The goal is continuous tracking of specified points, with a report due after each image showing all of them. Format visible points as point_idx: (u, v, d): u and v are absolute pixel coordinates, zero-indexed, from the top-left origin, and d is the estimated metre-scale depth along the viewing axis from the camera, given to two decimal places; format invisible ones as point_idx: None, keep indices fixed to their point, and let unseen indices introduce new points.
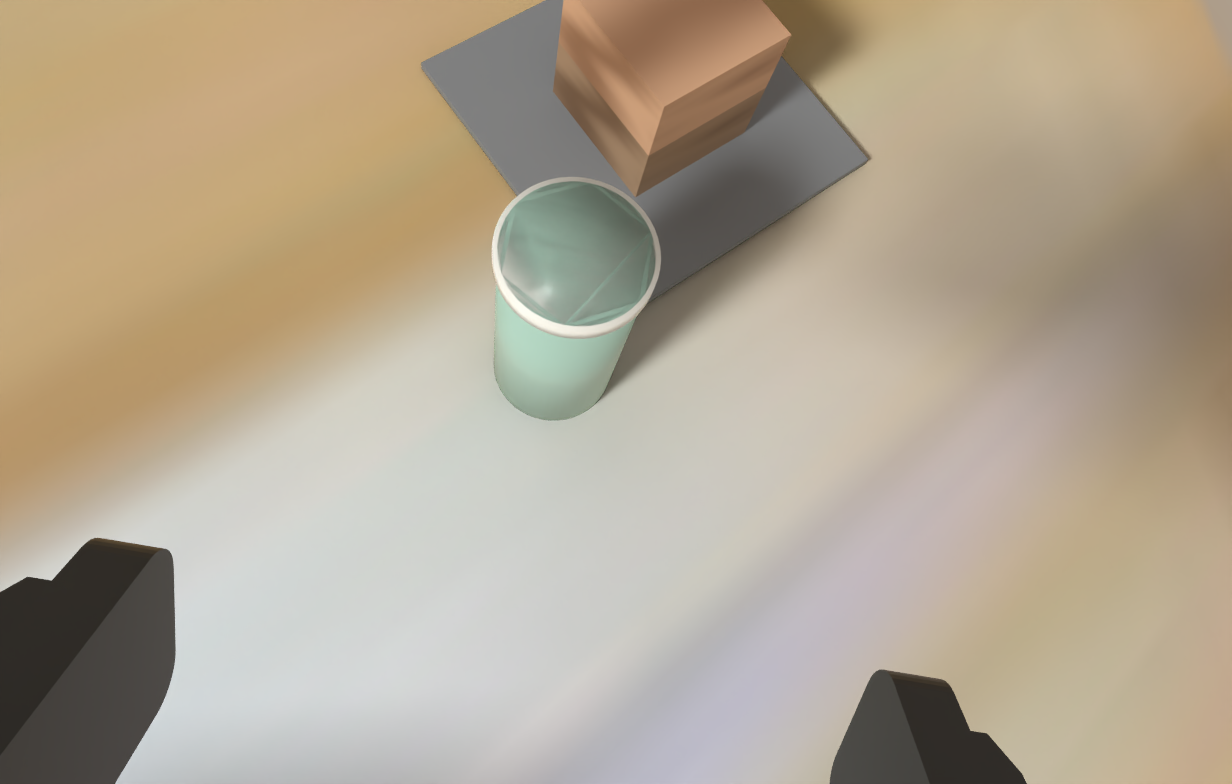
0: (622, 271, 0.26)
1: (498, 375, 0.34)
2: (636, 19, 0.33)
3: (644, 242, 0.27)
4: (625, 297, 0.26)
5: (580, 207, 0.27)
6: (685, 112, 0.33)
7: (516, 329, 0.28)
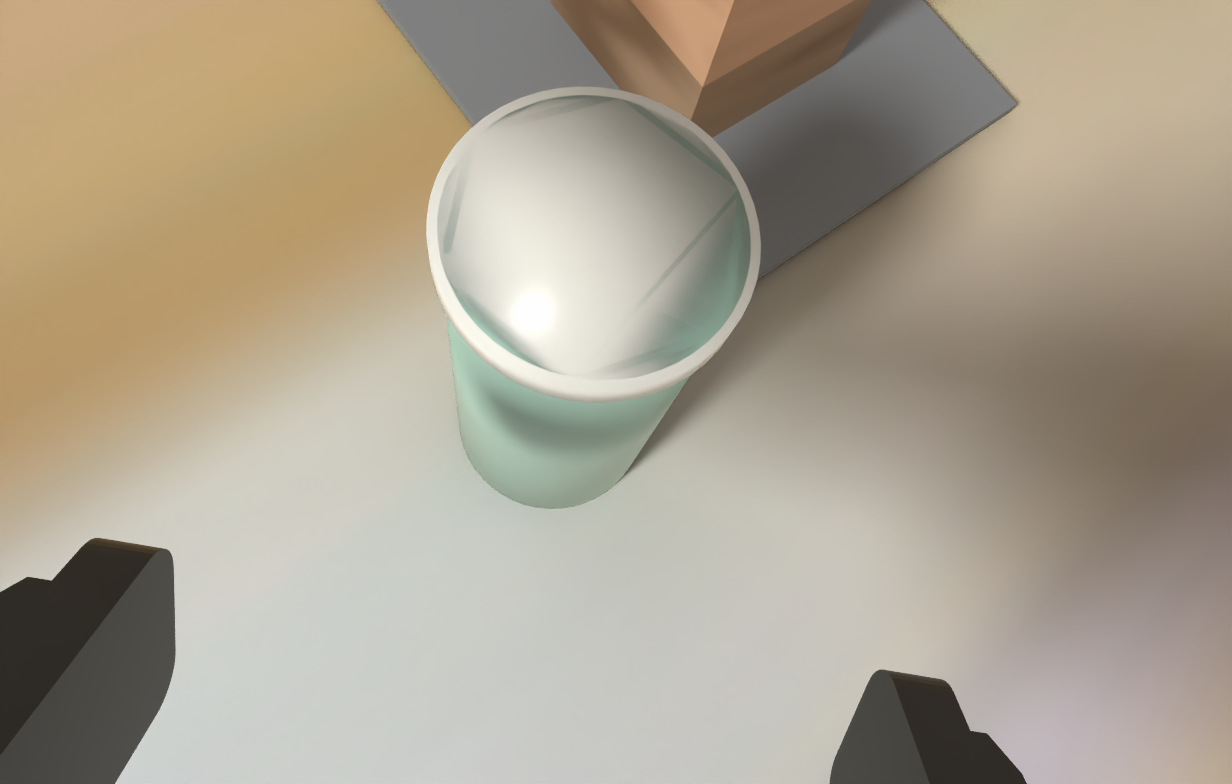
0: (687, 269, 0.13)
1: (464, 440, 0.21)
2: None
3: (728, 211, 0.14)
4: (694, 320, 0.13)
5: (602, 144, 0.14)
6: (766, 10, 0.20)
7: (481, 379, 0.15)
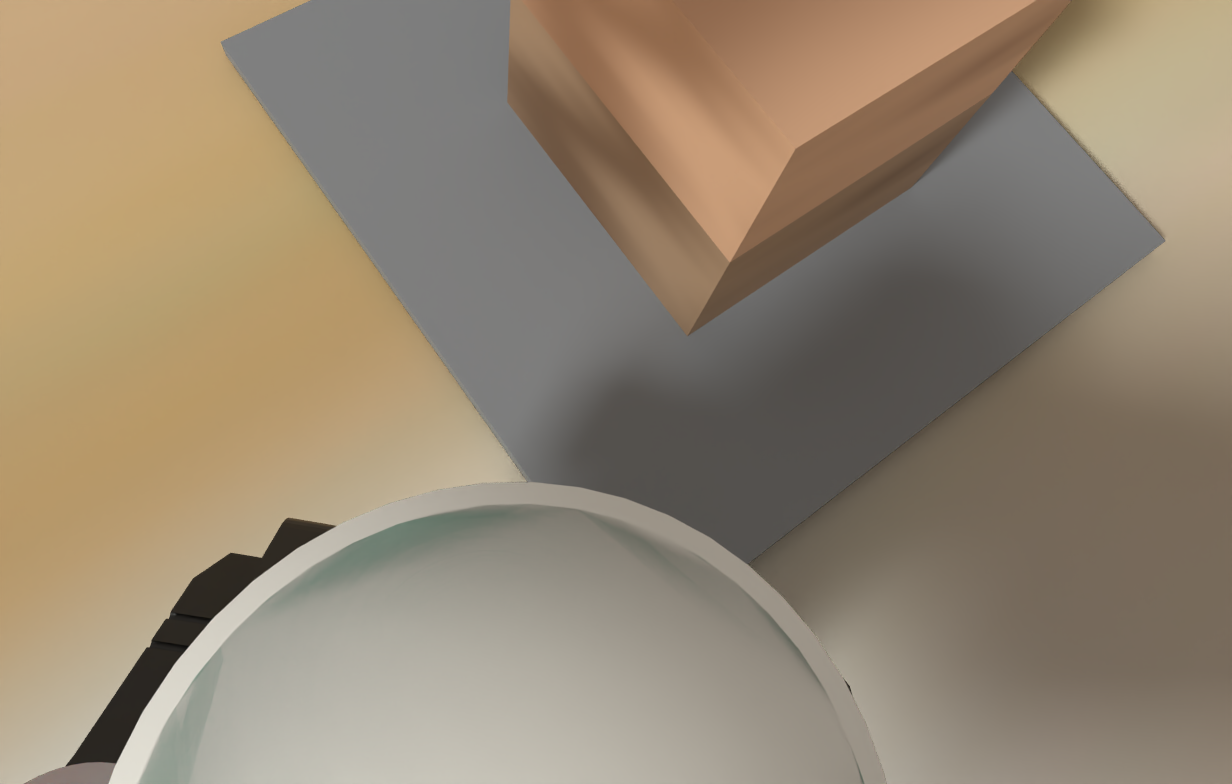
0: None
1: None
2: None
3: None
4: None
5: (532, 634, 0.06)
6: (835, 158, 0.13)
7: None
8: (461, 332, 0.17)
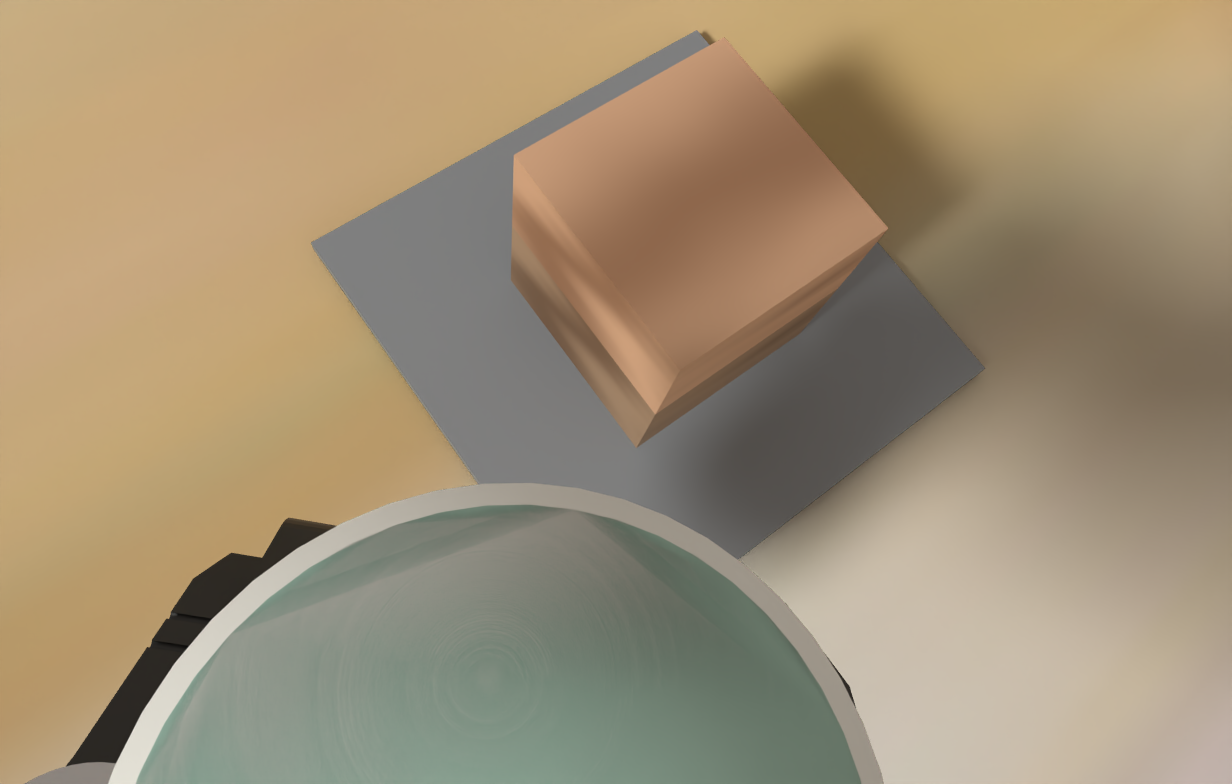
0: None
1: None
2: (631, 214, 0.20)
3: None
4: None
5: (530, 635, 0.06)
6: (715, 358, 0.20)
7: None
8: (480, 448, 0.24)
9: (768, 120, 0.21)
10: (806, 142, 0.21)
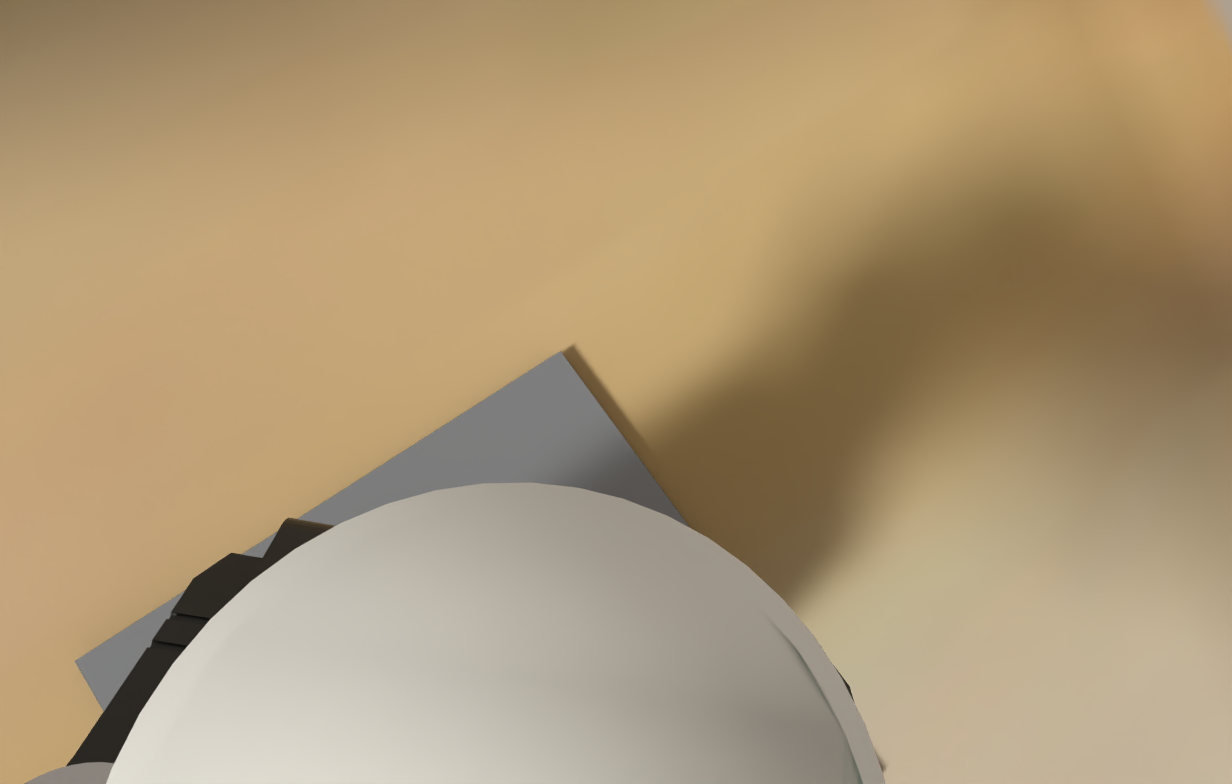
0: None
1: None
2: None
3: None
4: None
5: (529, 635, 0.06)
6: None
7: None
8: None
9: None
10: None
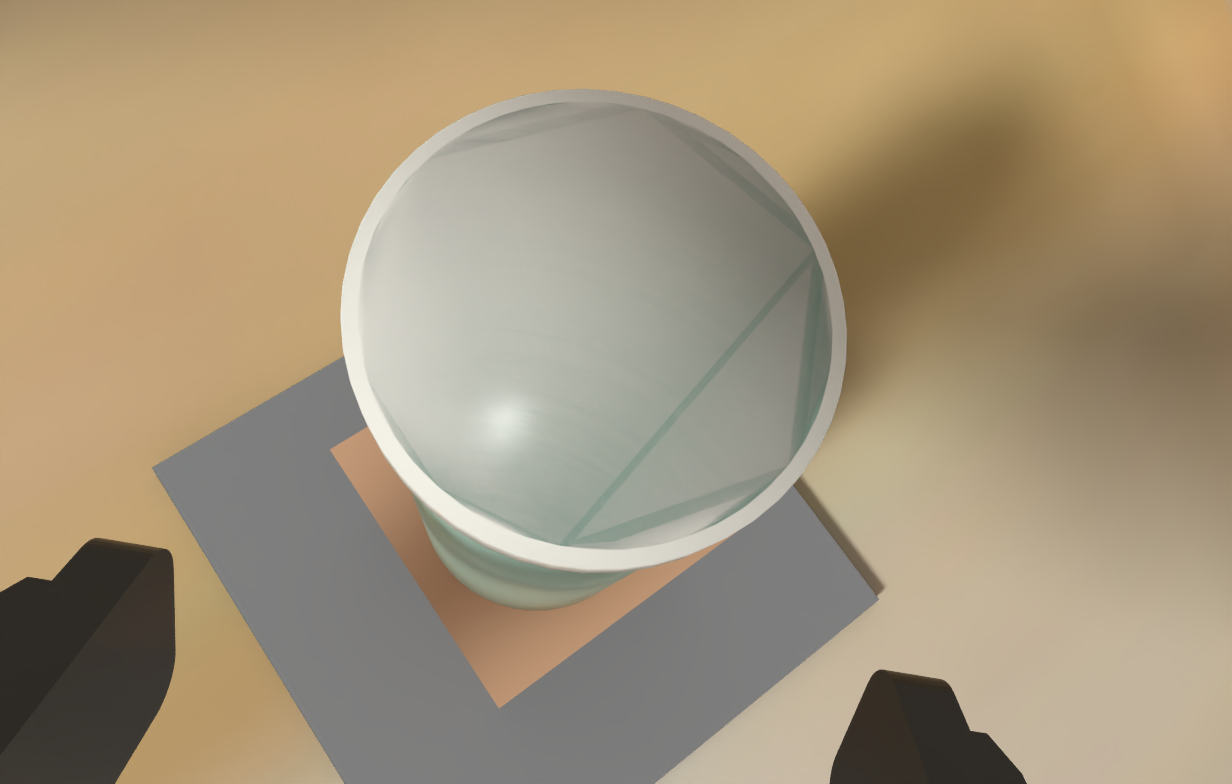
0: (737, 372, 0.09)
1: None
2: None
3: (798, 284, 0.09)
4: (745, 452, 0.09)
5: (614, 176, 0.09)
6: None
7: None
8: (324, 705, 0.22)
9: None
10: None
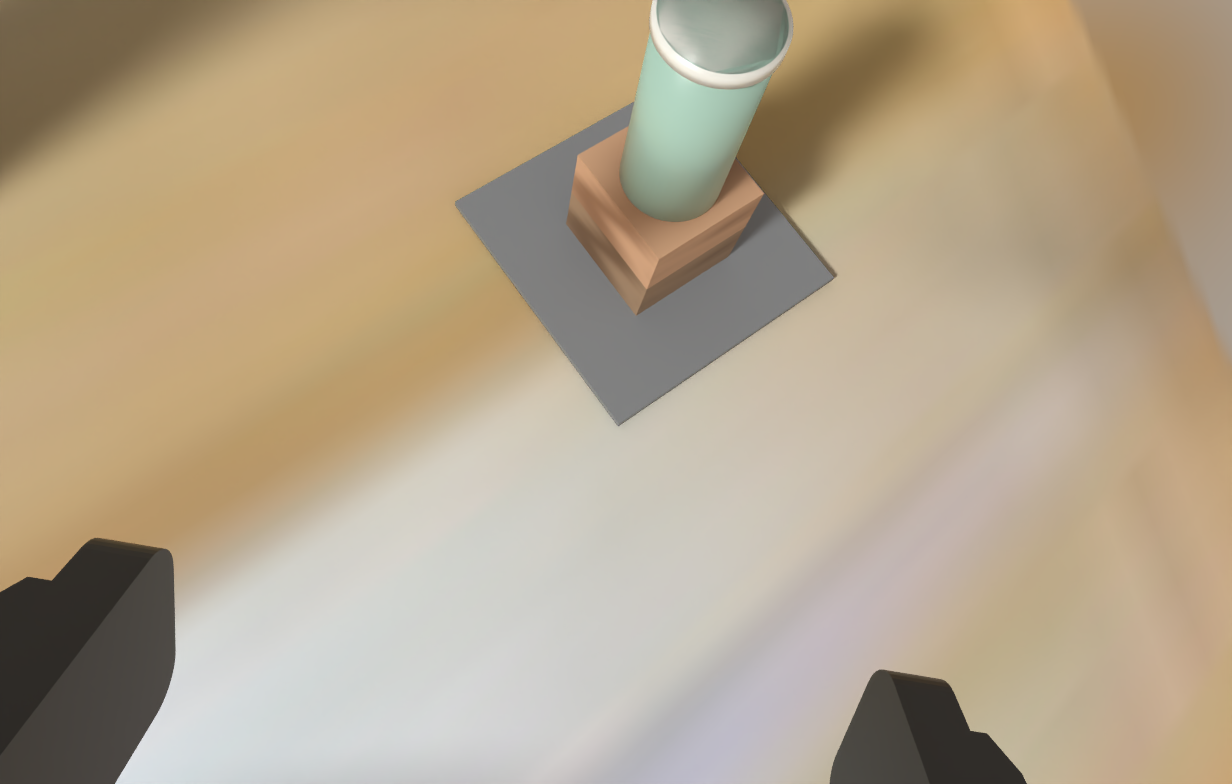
0: (761, 34, 0.31)
1: (626, 176, 0.39)
2: None
3: (779, 13, 0.31)
4: (763, 54, 0.30)
5: None
6: (677, 257, 0.40)
7: (663, 93, 0.32)
8: (551, 314, 0.44)
9: None
10: None
